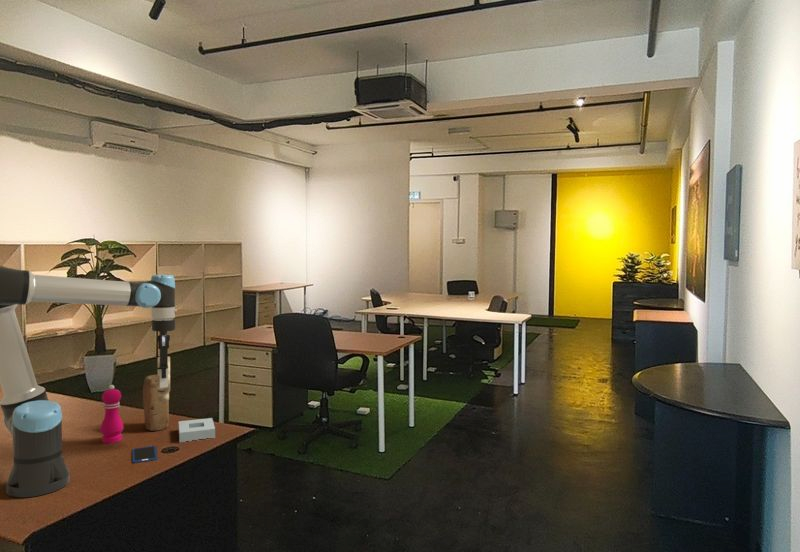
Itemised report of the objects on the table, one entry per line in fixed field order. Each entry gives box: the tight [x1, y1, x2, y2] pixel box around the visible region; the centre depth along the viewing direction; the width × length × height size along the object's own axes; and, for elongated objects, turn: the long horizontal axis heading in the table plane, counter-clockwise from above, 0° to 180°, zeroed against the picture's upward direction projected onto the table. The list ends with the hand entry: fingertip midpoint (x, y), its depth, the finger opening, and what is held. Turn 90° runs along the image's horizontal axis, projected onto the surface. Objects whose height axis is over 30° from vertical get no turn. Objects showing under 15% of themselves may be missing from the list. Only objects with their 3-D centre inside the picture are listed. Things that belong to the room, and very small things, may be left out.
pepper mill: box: [100, 384, 124, 444], centre depth 195 cm, size 7×7×20 cm
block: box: [142, 373, 170, 432], centre depth 210 cm, size 11×8×20 cm
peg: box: [157, 356, 171, 401], centre depth 192 cm, size 4×4×15 cm
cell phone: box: [131, 445, 158, 464], centre depth 183 cm, size 7×14×1 cm, turn 26°
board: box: [178, 417, 216, 443], centre depth 203 cm, size 12×14×4 cm
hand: (163, 385), depth 192 cm, fingers closed on peg, 4 cm apart
